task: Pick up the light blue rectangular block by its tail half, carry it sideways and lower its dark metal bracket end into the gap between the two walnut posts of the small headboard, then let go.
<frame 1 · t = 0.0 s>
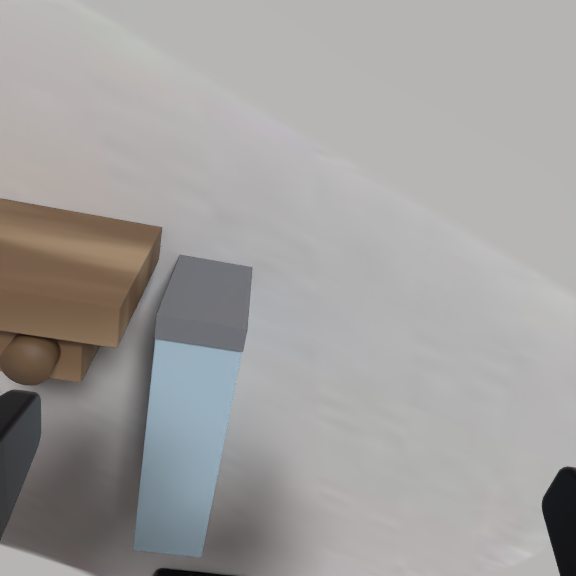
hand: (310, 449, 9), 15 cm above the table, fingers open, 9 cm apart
light blue rectangular block: (197, 379, 26), on the table
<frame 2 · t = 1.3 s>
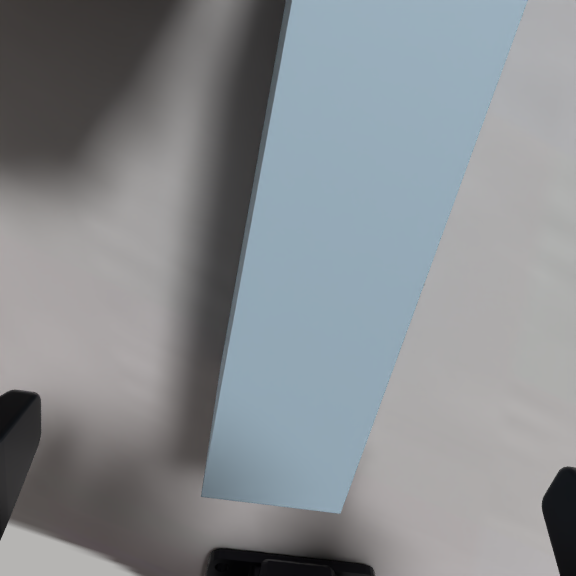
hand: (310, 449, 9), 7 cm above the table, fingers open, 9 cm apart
light blue rectangular block: (320, 167, 13), on the table
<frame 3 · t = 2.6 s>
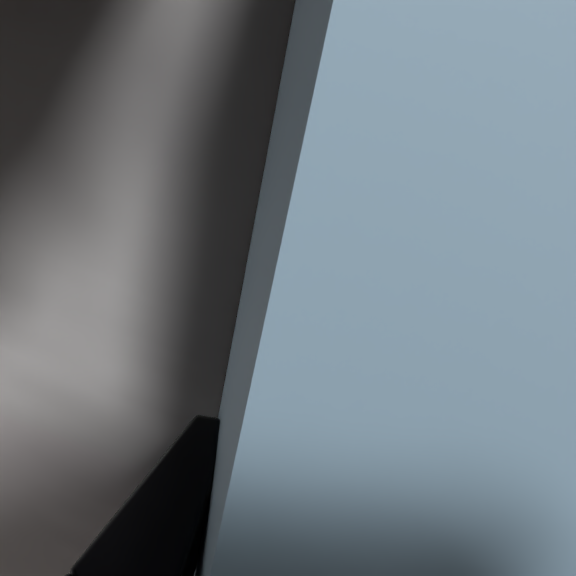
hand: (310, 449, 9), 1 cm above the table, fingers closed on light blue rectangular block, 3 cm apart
light blue rectangular block: (347, 265, 8), on the table, touching gripper
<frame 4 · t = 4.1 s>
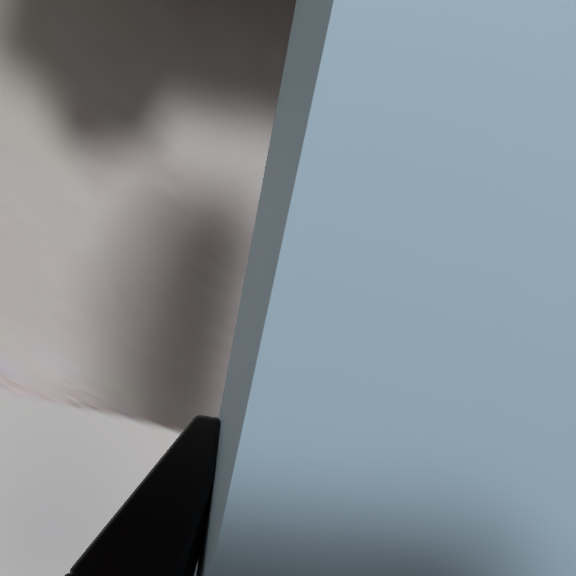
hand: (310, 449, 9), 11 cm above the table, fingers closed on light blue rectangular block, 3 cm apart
light blue rectangular block: (348, 260, 9), point 10 cm above the table, touching gripper
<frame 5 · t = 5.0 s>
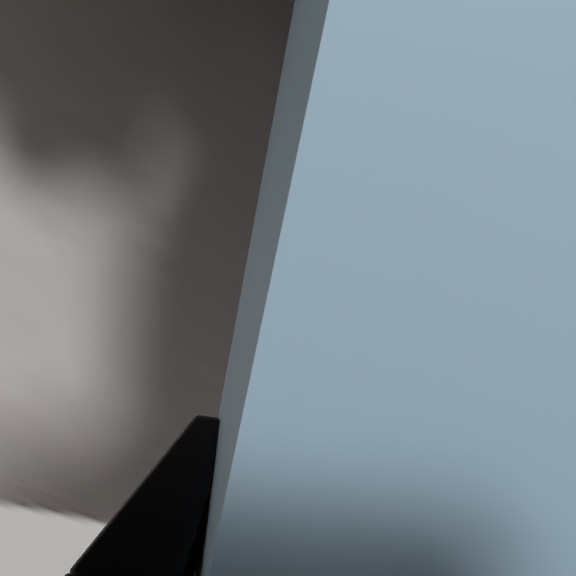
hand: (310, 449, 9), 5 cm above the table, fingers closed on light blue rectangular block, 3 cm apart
light blue rectangular block: (347, 260, 9), point 4 cm above the table, touching gripper
when the fingers open (2 cm above the table, at t = 5.8 s): light blue rectangular block drops 1 cm, on the table.
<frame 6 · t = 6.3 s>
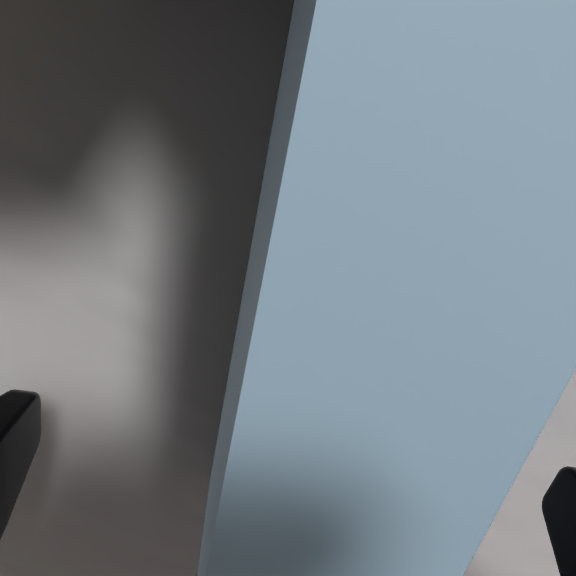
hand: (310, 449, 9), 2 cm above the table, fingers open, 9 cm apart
light blue rectangular block: (339, 238, 10), on the table
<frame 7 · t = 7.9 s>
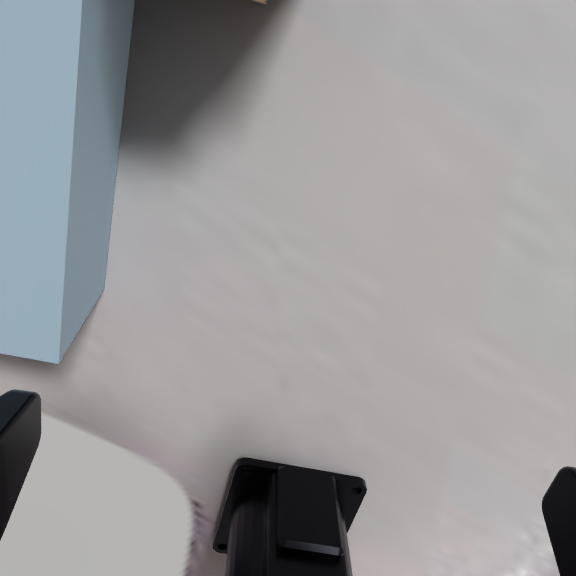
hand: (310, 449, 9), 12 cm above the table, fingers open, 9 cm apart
light blue rectangular block: (73, 112, 18), on the table
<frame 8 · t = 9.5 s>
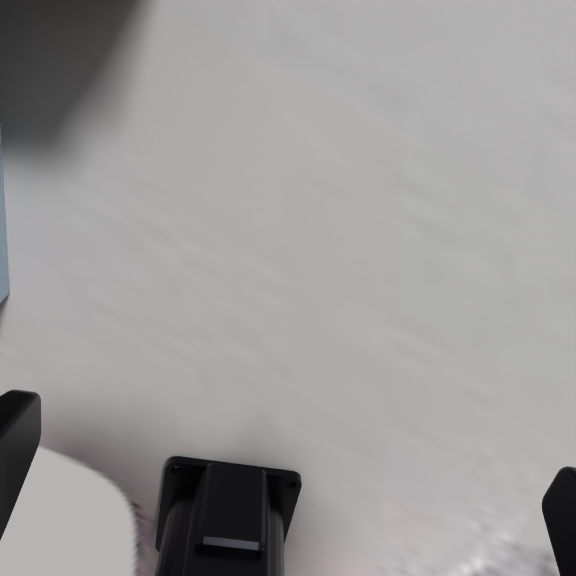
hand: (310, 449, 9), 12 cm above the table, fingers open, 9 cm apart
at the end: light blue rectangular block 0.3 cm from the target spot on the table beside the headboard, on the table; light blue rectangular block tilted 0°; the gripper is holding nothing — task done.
